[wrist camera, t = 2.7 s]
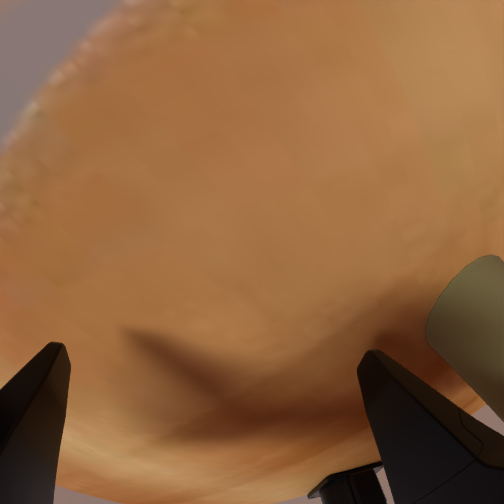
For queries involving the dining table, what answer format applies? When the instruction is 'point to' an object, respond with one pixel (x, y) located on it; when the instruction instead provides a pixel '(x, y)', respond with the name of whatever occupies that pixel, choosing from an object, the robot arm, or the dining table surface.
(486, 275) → the olive pawn
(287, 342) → the dining table surface
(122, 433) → the dining table surface
